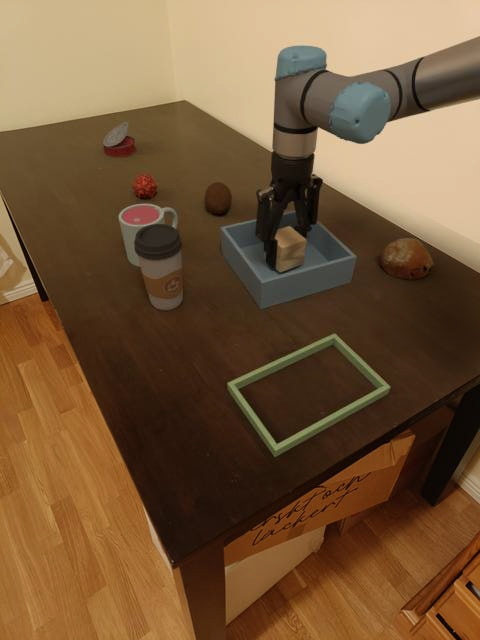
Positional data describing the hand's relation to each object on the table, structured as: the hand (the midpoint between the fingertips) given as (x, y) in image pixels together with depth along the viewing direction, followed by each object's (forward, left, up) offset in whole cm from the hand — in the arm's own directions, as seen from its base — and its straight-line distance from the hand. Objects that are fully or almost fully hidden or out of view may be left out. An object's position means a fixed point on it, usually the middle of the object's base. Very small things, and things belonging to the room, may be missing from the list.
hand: (283, 259), depth 91 cm
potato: (+26, -13, -2) cm, 29 cm away
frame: (-19, +27, -2) cm, 33 cm away
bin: (0, 0, -2) cm, 2 cm away
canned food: (+73, -26, -2) cm, 77 cm away
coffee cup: (+14, +22, -2) cm, 26 cm away
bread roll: (-22, -14, -2) cm, 26 cm away
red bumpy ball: (+46, -8, -2) cm, 47 cm away
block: (0, 0, 0) cm, 0 cm away
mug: (+27, +10, -2) cm, 29 cm away
